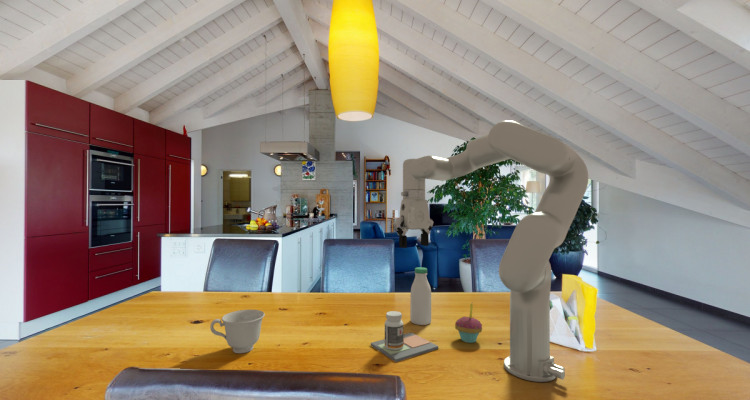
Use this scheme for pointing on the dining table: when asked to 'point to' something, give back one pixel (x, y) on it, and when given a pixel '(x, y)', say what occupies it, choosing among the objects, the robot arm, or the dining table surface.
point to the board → (406, 347)
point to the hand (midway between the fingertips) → (414, 246)
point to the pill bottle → (394, 331)
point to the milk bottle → (420, 298)
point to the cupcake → (468, 327)
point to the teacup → (240, 329)
